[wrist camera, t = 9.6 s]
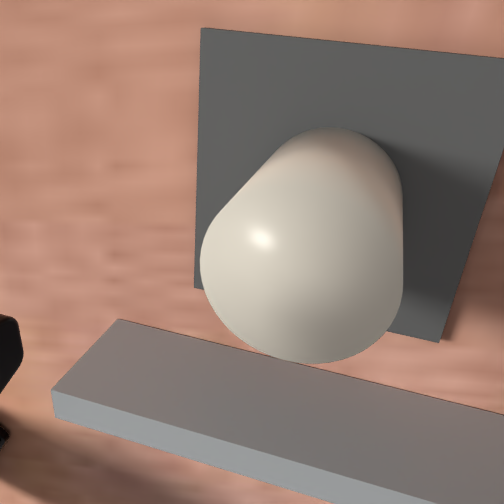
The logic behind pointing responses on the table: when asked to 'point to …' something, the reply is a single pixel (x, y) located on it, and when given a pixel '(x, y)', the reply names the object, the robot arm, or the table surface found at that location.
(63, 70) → the table surface
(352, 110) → the mat
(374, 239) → the cream rounded cone
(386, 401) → the wall
